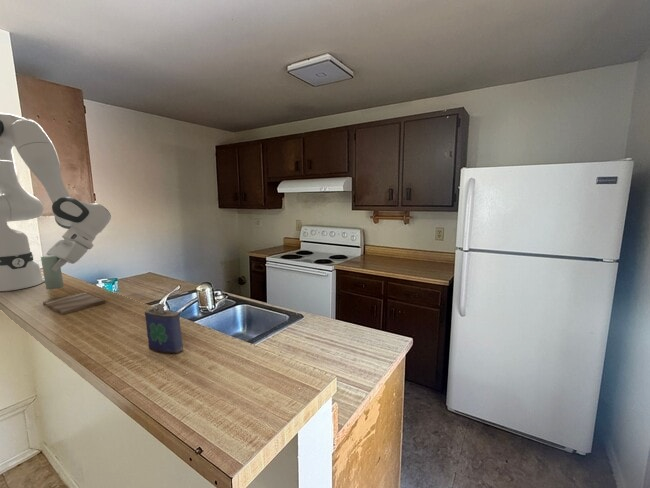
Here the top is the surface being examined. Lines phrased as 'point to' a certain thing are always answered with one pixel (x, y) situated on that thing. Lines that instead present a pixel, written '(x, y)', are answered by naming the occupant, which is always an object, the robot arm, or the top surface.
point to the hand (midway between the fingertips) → (49, 269)
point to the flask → (163, 330)
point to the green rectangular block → (51, 272)
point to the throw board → (73, 303)
